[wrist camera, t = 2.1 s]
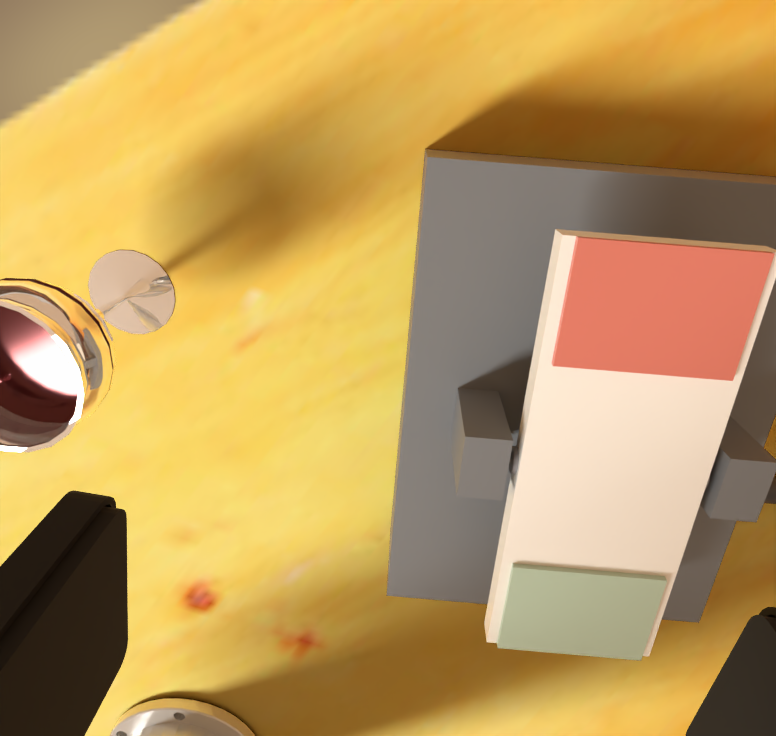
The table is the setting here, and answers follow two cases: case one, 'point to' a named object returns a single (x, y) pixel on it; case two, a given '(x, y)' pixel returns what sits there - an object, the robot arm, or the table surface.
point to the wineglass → (70, 344)
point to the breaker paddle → (619, 435)
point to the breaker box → (516, 344)
